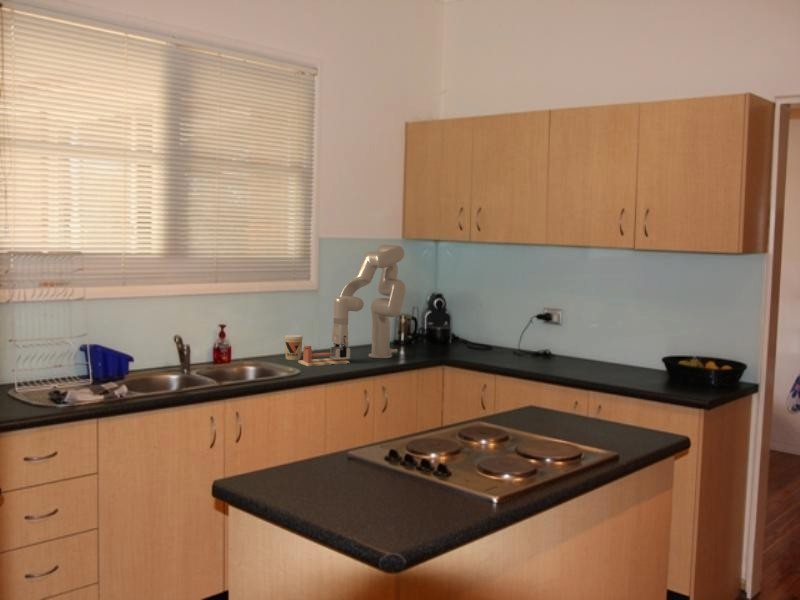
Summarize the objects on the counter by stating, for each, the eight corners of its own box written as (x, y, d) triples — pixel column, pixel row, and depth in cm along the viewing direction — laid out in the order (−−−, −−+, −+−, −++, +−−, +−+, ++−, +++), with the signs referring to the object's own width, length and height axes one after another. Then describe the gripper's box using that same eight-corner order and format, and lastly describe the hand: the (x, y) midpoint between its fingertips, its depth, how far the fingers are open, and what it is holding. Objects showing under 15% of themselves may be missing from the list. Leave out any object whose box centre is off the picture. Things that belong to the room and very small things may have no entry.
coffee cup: (282, 359, 426) (283, 336, 425) (285, 357, 436) (286, 334, 435) (300, 360, 426) (301, 337, 425) (303, 357, 435) (304, 334, 434)
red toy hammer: (327, 359, 425) (327, 344, 424) (332, 361, 420) (332, 345, 419) (301, 361, 418) (301, 345, 417) (306, 363, 413) (306, 347, 412)
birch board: (339, 359, 432) (339, 357, 432) (349, 363, 422) (349, 361, 421) (298, 362, 420) (298, 360, 420) (307, 366, 410) (307, 364, 410)
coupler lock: (344, 356, 430) (344, 346, 430) (349, 358, 425) (350, 348, 424) (330, 357, 426) (330, 347, 426) (335, 359, 421) (336, 349, 420)
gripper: (327, 319, 429) (326, 354, 431) (341, 324, 414) (341, 359, 416) (340, 319, 433) (339, 353, 435) (355, 323, 418) (354, 358, 420)
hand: (340, 356), depth 425 cm, fingers closed on coupler lock, 6 cm apart
